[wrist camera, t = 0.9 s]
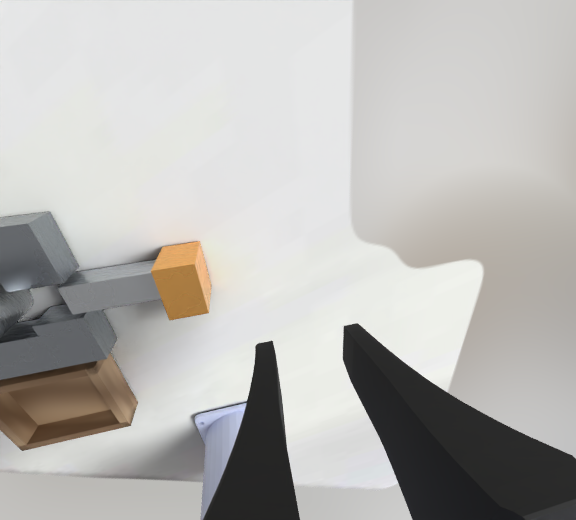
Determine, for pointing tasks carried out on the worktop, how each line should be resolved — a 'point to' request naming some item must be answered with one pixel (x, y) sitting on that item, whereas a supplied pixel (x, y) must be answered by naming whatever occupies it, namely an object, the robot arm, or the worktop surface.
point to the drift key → (145, 284)
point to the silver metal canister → (13, 307)
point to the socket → (57, 319)
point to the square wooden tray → (65, 404)
